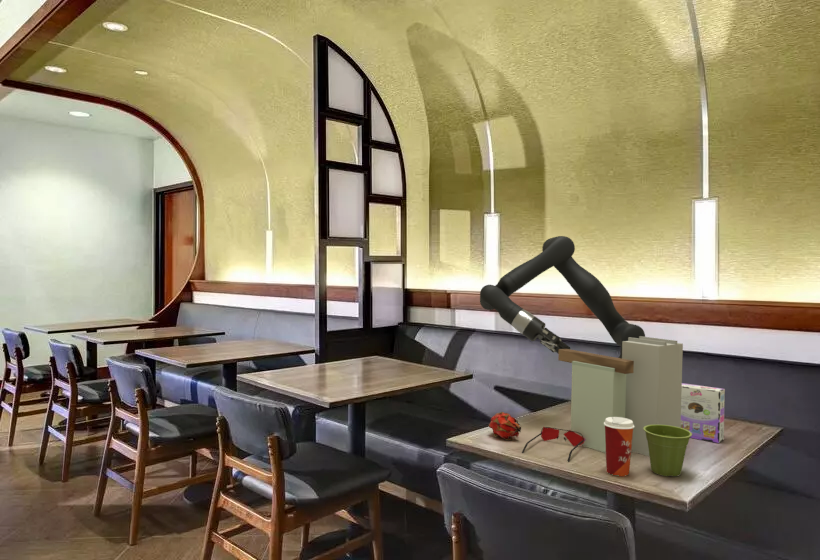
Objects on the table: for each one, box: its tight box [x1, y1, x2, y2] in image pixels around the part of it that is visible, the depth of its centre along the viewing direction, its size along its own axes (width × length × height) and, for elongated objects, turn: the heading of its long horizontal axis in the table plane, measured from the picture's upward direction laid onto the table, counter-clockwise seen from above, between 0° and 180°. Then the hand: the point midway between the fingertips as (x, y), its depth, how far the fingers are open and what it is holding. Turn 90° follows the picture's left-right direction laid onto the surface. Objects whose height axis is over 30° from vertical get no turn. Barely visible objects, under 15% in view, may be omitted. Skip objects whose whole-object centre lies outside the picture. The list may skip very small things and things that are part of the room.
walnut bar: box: [557, 348, 634, 374], centre depth 179 cm, size 4×26×4 cm, turn 31°
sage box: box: [570, 361, 626, 454], centre depth 178 cm, size 6×15×25 cm, turn 35°
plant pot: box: [643, 424, 692, 477], centre depth 156 cm, size 12×12×11 cm
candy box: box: [681, 382, 726, 444], centre depth 189 cm, size 14×6×16 cm, turn 47°
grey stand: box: [622, 336, 684, 458], centre depth 175 cm, size 12×12×33 cm
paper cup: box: [604, 417, 635, 477], centre depth 156 cm, size 8×8×14 cm
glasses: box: [521, 426, 585, 463], centre depth 174 cm, size 14×16×5 cm
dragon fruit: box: [488, 411, 522, 441], centre depth 186 cm, size 8×8×12 cm
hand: (568, 353), depth 197 cm, fingers open, 8 cm apart
